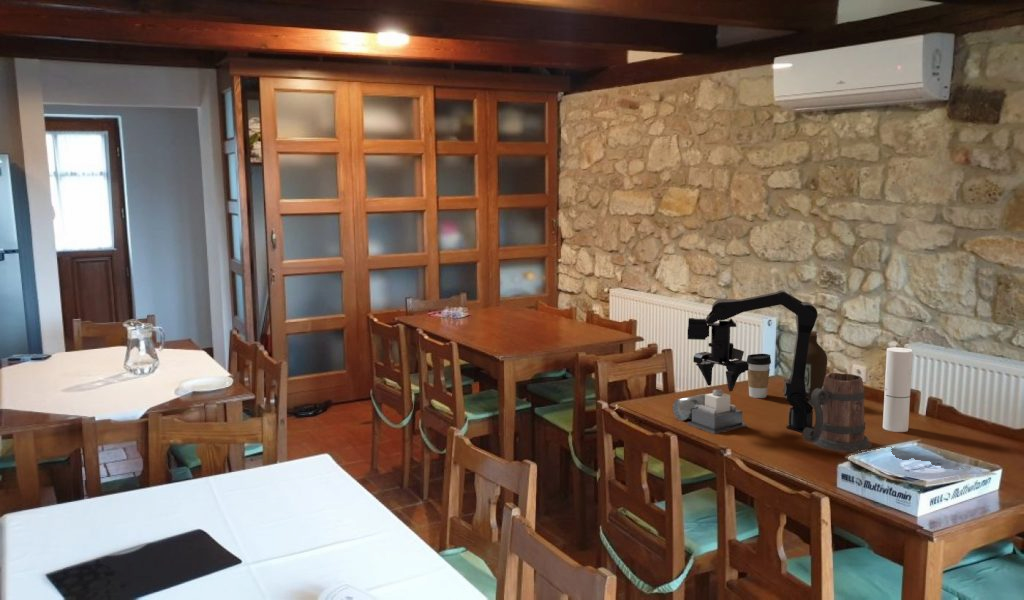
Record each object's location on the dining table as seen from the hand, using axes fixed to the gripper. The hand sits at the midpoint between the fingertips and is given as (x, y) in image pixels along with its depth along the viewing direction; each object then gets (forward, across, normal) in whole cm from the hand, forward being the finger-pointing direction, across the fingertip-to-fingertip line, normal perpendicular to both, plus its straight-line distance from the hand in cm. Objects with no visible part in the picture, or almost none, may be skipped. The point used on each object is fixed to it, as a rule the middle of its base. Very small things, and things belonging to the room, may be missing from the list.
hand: (719, 388), depth 256 cm
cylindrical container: (+12, -34, -41) cm, 55 cm away
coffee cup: (+12, +16, -36) cm, 41 cm away
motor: (+12, +4, +1) cm, 13 cm away
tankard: (+12, -32, -13) cm, 37 cm away
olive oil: (+12, +1, -45) cm, 46 cm away
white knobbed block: (+7, 0, +1) cm, 7 cm away
